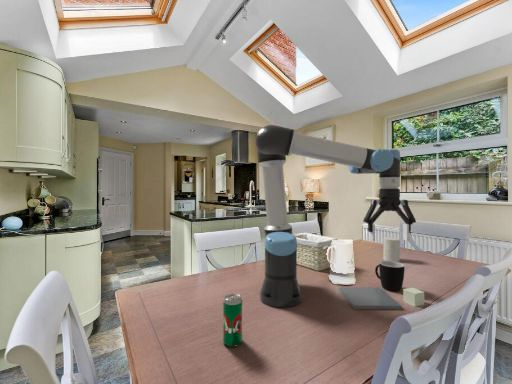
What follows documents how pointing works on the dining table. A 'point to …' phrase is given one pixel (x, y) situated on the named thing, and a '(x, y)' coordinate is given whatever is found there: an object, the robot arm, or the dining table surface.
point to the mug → (391, 275)
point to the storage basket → (313, 250)
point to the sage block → (413, 296)
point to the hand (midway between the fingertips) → (389, 240)
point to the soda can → (232, 319)
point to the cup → (391, 249)
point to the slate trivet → (369, 298)
